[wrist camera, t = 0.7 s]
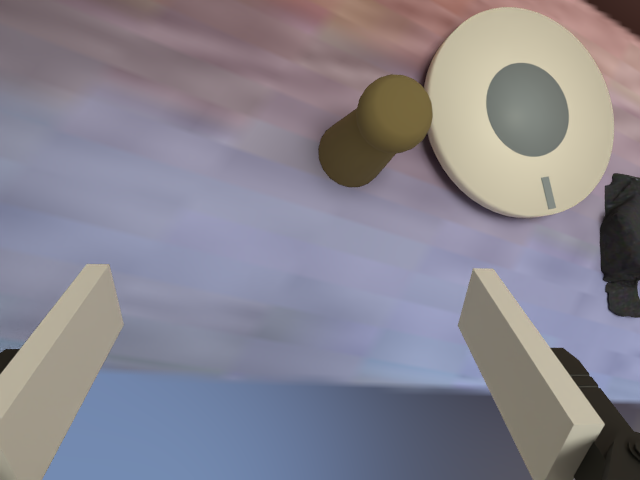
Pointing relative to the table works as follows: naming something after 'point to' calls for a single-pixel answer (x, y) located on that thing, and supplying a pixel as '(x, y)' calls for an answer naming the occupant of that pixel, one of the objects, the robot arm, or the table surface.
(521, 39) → the turntable
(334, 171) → the cork
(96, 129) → the table surface
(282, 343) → the table surface
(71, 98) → the table surface
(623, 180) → the dark grey folded cloth
